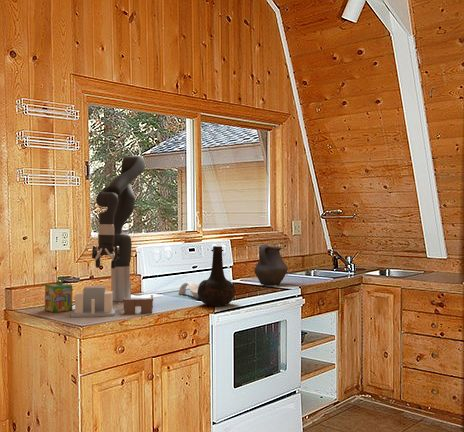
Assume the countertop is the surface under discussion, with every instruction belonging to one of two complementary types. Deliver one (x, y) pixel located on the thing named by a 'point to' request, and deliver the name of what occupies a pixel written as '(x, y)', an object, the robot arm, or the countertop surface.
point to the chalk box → (58, 297)
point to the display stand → (93, 302)
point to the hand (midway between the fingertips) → (105, 268)
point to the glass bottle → (216, 283)
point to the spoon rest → (192, 287)
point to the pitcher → (270, 266)
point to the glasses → (132, 303)
